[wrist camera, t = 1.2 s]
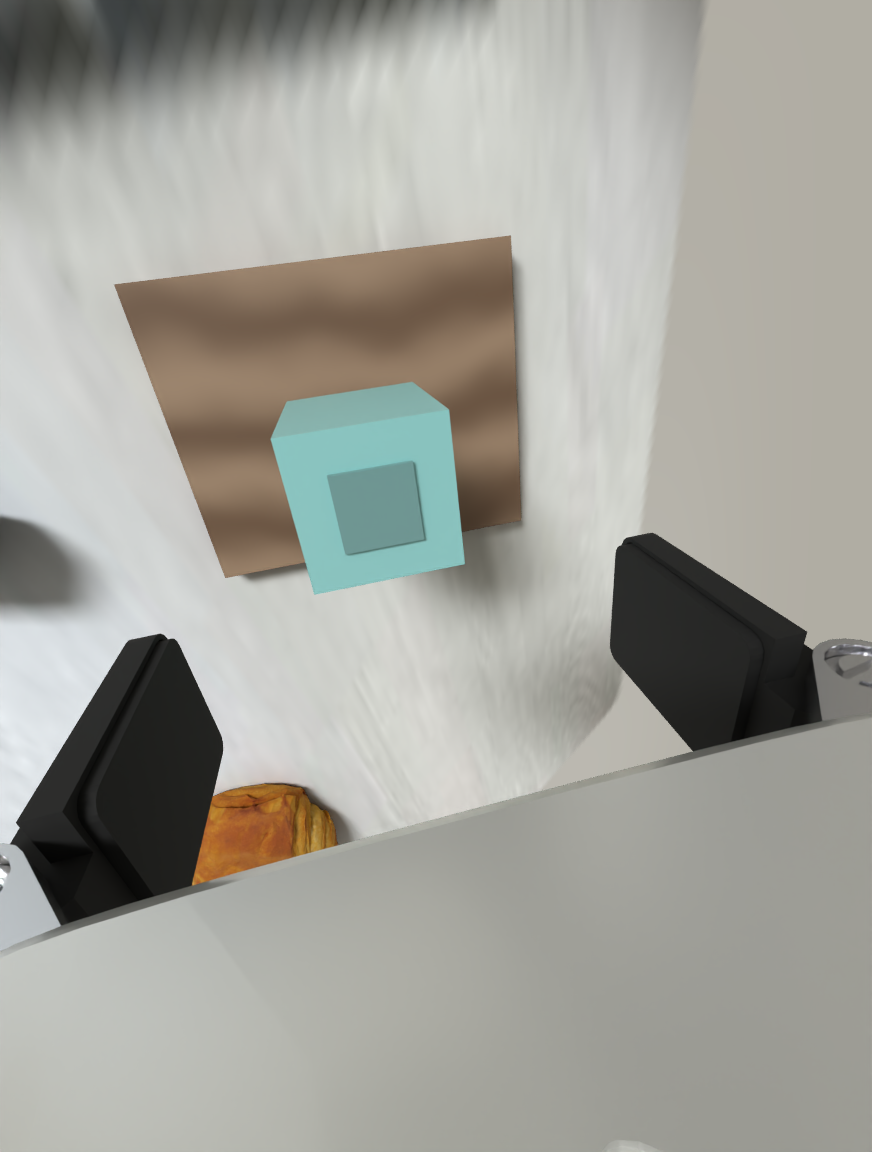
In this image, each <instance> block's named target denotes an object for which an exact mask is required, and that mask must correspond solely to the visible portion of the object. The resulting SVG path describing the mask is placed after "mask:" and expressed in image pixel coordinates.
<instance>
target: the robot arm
mask: <svg viewBox="0 0 872 1152" xmlns="http://www.w3.org/2000/svg"><path fill="white" fill-rule="evenodd" d="M806 634H807V631H805V630H803V629H802V628H800V627H799V626H797V625H796V624H794V623H792V622H791V621H790V620H788V619H786V618H785V617H783V616H782V615H780V614H779V613H777V612H776V611H774V610H773V609H771V608H769V607H767V606H766V605H765V604H763V603H762V602H760V601H759V600H757V599H755V598H754V597H752V596H751V595H749V594H748V593H746V592H744V591H743V590H742V589H740V588H738V587H737V586H735V585H734V584H732V583H730V582H729V581H728V580H726V579H724V578H723V577H721V576H720V575H718V574H716V573H715V572H713V571H712V570H711V569H709V568H707V567H706V566H704V565H703V564H701V563H699V562H698V561H696V560H695V559H693V558H692V557H690V556H689V555H687V554H686V553H684V552H683V551H681V550H680V549H678V548H676V547H675V546H673V545H672V544H670V543H669V542H667V541H666V540H664V539H662V538H661V537H659V536H658V535H656V534H654V533H648V534H643V535H638V536H633V537H628V538H626V539H625V540H624V541H623V543H622V545H621V546H619V547H618V548H617V550H616V556H615V573H614V589H613V605H612V621H611V637H610V648H611V652H612V655H613V657H614V659H615V661H616V662H617V663H618V664H619V665H620V667H621V668H622V669H623V670H624V671H625V672H626V674H627V675H628V676H629V677H630V678H631V679H632V681H633V682H634V683H635V684H636V685H637V686H638V687H639V689H640V690H641V691H642V692H643V693H644V695H645V696H646V697H647V698H648V699H649V700H650V701H651V703H652V704H653V705H654V706H655V707H656V709H657V710H658V711H659V712H660V713H661V714H662V716H663V717H664V718H665V719H666V720H667V721H668V723H669V724H670V725H671V726H672V727H673V728H674V729H675V731H676V732H677V733H678V734H679V735H680V737H681V738H682V739H683V740H684V741H685V742H686V743H687V745H688V746H689V747H690V748H691V750H692V751H693V752H689V753H686V754H682V755H678V756H674V757H670V758H666V759H663V760H659V761H655V762H651V763H647V764H643V765H640V766H636V767H632V768H628V769H624V770H620V771H616V772H613V773H609V774H604V775H601V776H597V777H593V778H589V779H585V780H581V781H577V782H574V783H570V784H566V785H563V786H558V787H555V788H551V789H547V790H544V791H540V792H536V793H532V794H528V795H524V796H521V797H517V798H513V799H509V800H505V801H502V802H498V803H494V804H490V805H487V806H483V807H479V808H475V809H471V810H468V811H464V812H460V813H456V814H453V815H449V816H445V817H441V818H438V819H434V820H430V821H426V822H423V823H419V824H415V825H411V826H408V827H404V828H400V829H396V830H393V831H389V832H385V833H382V834H378V835H374V836H371V837H367V838H363V839H359V840H356V841H352V842H348V843H345V844H341V845H337V846H334V847H330V848H326V849H323V850H319V851H315V852H311V853H308V854H304V855H300V856H297V857H293V858H289V859H286V860H282V861H278V862H275V863H271V864H267V865H264V866H260V867H256V868H252V869H249V870H245V871H241V872H238V873H234V874H231V875H227V876H224V877H220V878H217V879H213V880H210V881H206V882H203V883H199V884H196V885H193V886H192V882H193V878H194V874H195V869H196V865H197V861H198V857H199V852H200V848H201V844H202V840H203V835H204V831H205V827H206V823H207V818H208V814H209V810H210V806H211V801H212V797H213V793H214V789H215V784H216V780H217V776H218V772H219V767H220V763H221V759H222V755H223V741H222V737H221V734H220V732H219V730H218V728H217V725H216V723H215V721H214V719H213V717H212V715H211V713H210V710H209V708H208V706H207V704H206V702H205V700H204V697H203V695H202V693H201V691H200V689H199V687H198V685H197V682H196V680H195V678H194V676H193V674H192V672H191V669H190V667H189V665H188V663H187V661H186V659H185V657H184V654H183V652H182V650H181V648H180V646H179V644H178V642H177V641H176V640H175V639H167V638H166V637H165V636H164V635H163V634H157V635H152V636H147V637H142V638H137V639H132V640H129V641H128V642H127V643H126V644H125V646H124V648H123V649H122V651H121V652H120V654H119V656H118V657H117V659H116V661H115V662H114V664H113V665H112V667H111V669H110V670H109V672H108V674H107V675H106V677H105V678H104V680H103V682H102V683H101V685H100V687H99V688H98V690H97V691H96V693H95V695H94V696H93V698H92V700H91V701H90V703H89V705H88V706H87V708H86V709H85V711H84V713H83V714H82V716H81V718H80V719H79V721H78V722H77V724H76V726H75V727H74V729H73V731H72V732H71V734H70V735H69V737H68V739H67V740H66V742H65V744H64V745H63V747H62V748H61V750H60V752H59V753H58V755H57V757H56V758H55V760H54V761H53V763H52V765H51V766H50V768H49V770H48V771H47V773H46V775H45V776H44V778H43V779H42V781H41V783H40V784H39V786H38V788H37V789H36V791H35V792H34V794H33V796H32V797H31V799H30V801H29V802H28V804H27V805H26V807H25V809H24V810H23V812H22V814H21V815H20V817H19V818H18V820H17V822H16V824H17V825H18V826H19V827H20V828H19V830H18V832H17V833H16V835H15V837H14V838H13V840H12V842H11V843H10V844H4V843H2V844H0V1152H872V642H868V641H863V640H855V639H832V640H828V641H825V642H822V643H820V644H818V645H817V646H816V647H815V648H814V649H813V650H812V649H810V648H809V647H807V646H806V645H804V641H805V638H806Z"/></svg>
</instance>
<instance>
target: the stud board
mask: <svg viewBox="0 0 872 1152" xmlns="http://www.w3.org/2000/svg"><path fill="white" fill-rule="evenodd" d="M115 288H116V291H117V293H118V296H119V299H120V301H121V304H122V307H123V309H124V312H125V314H126V317H127V320H128V322H129V325H130V328H131V330H132V333H133V336H134V338H135V341H136V343H137V346H138V349H139V351H140V354H141V357H142V359H143V362H144V365H145V367H146V370H147V372H148V375H149V378H150V380H151V383H152V386H153V388H154V391H155V394H156V396H157V399H158V401H159V404H160V407H161V409H162V412H163V415H164V417H165V420H166V423H167V425H168V428H169V430H170V433H171V436H172V438H173V441H174V444H175V446H176V449H177V452H178V454H179V457H180V459H181V462H182V465H183V467H184V470H185V473H186V475H187V478H188V481H189V483H190V486H191V488H192V491H193V494H194V496H195V499H196V502H197V504H198V507H199V510H200V512H201V515H202V517H203V520H204V523H205V525H206V528H207V531H208V533H209V536H210V539H211V541H212V544H213V546H214V549H215V552H216V554H217V557H218V560H219V562H220V565H221V568H222V570H223V573H224V575H225V578H228V577H233V576H238V575H243V574H248V573H253V572H258V571H264V570H269V569H274V568H279V567H284V566H289V565H294V564H299V563H305V559H304V556H303V552H302V548H301V545H300V541H299V538H298V534H297V531H296V527H295V524H294V520H293V517H292V513H291V510H290V506H289V502H288V499H287V495H286V492H285V488H284V485H283V481H282V478H281V474H280V471H279V467H278V463H277V460H276V456H275V453H274V449H273V446H272V442H271V437H272V434H273V432H274V430H275V427H276V425H277V423H278V420H279V418H280V416H281V413H282V411H283V409H284V406H285V404H286V402H287V401H293V400H299V399H305V398H312V397H318V396H325V395H331V394H338V393H344V392H350V391H357V390H363V389H370V388H376V387H382V386H389V385H395V384H402V383H408V382H413V383H415V384H416V385H417V386H419V387H420V388H421V389H423V390H424V391H425V392H427V393H428V394H429V395H431V396H432V397H433V398H434V399H436V400H437V401H438V402H440V403H441V404H442V405H444V406H445V407H446V408H448V409H449V414H450V424H451V434H452V443H453V453H454V463H455V473H456V482H457V492H458V502H459V512H460V522H461V531H462V532H464V531H469V530H474V529H479V528H484V527H490V526H495V525H500V524H505V523H510V522H515V521H520V520H521V499H520V471H519V444H518V417H517V389H516V362H515V335H514V308H513V280H512V253H511V236H504V237H496V238H487V239H479V240H471V241H463V242H455V243H447V244H439V245H431V246H423V247H415V248H406V249H398V250H390V251H382V252H374V253H366V254H358V255H350V256H342V257H334V258H325V259H317V260H309V261H301V262H293V263H285V264H277V265H269V266H261V267H253V268H244V269H236V270H228V271H220V272H212V273H204V274H196V275H188V276H180V277H172V278H163V279H155V280H147V281H139V282H131V283H123V284H115Z"/></svg>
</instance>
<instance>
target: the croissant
mask: <svg viewBox="0 0 872 1152" xmlns="http://www.w3.org/2000/svg"><path fill="white" fill-rule="evenodd" d="M337 845H338V843H337V839H336V830H335V827H334V824H333V821H332V820H331V819H330V815H329V813H328V811H327V810H323V811H322V810H321V809H319V808H318V806H317V805H314V804H312V803H310V801H309V799H308V797H307V794H306V793H305V790H304V789H302V788H301V787H292V786H288V785H272V784H268V785H267V784H261V785H255V786H246V787H241V788H238V789H233V790H230V791H225V792H223V793H220V794H218V795H216V796H213V797H212V801H211V806H210V810H209V814H208V818H207V823H206V827H205V831H204V835H203V840H202V844H201V848H200V852H199V857H198V861H197V865H196V869H195V874H194V878H193V882H192V886H193V885H196V884H199V883H203V882H206V881H210V880H213V879H217V878H220V877H224V876H227V875H231V874H234V873H238V872H241V871H245V870H249V869H252V868H256V867H260V866H264V865H267V864H271V863H275V862H278V861H282V860H286V859H289V858H293V857H297V856H300V855H304V854H308V853H311V852H315V851H319V850H323V849H326V848H330V847H334V846H337Z"/></svg>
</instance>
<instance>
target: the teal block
mask: <svg viewBox="0 0 872 1152" xmlns="http://www.w3.org/2000/svg"><path fill="white" fill-rule="evenodd" d="M271 442H272V446H273V449H274V453H275V456H276V460H277V463H278V467H279V471H280V474H281V478H282V481H283V485H284V488H285V492H286V495H287V499H288V502H289V506H290V510H291V513H292V517H293V520H294V524H295V527H296V531H297V534H298V538H299V541H300V545H301V548H302V552H303V556H304V559H305V563H306V566H307V570H308V573H309V577H310V580H311V584H312V587H313V591H314V595H315V594H320V593H325V592H330V591H335V590H340V589H345V588H349V587H354V586H359V585H364V584H369V583H374V582H379V581H384V580H389V579H394V578H399V577H404V576H409V575H414V574H419V573H423V572H428V571H433V570H438V569H443V568H448V567H453V566H458V565H463V564H465V561H464V551H463V541H462V531H461V522H460V512H459V502H458V492H457V482H456V473H455V463H454V453H453V443H452V434H451V424H450V414H449V409H448V408H446V407H445V406H444V405H442V404H441V403H440V402H438V401H437V400H436V399H434V398H433V397H432V396H431V395H429V394H428V393H427V392H425V391H424V390H423V389H421V388H420V387H419V386H417V385H416V384H415V383H413V382H408V383H402V384H395V385H389V386H382V387H376V388H370V389H363V390H357V391H350V392H344V393H338V394H331V395H325V396H318V397H312V398H305V399H299V400H293V401H287V402H286V404H285V406H284V409H283V411H282V413H281V416H280V418H279V420H278V423H277V425H276V427H275V430H274V432H273V434H272V437H271Z"/></svg>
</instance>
